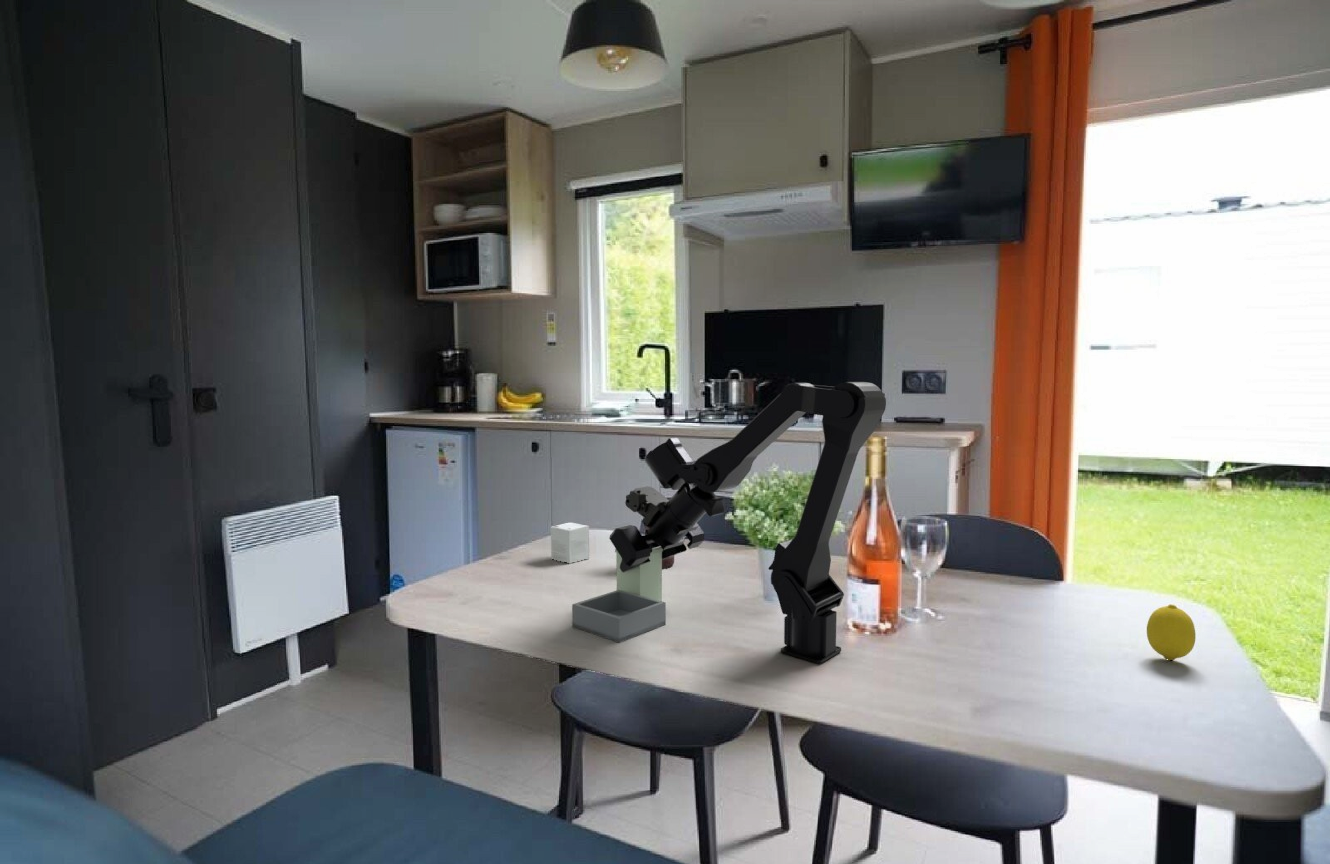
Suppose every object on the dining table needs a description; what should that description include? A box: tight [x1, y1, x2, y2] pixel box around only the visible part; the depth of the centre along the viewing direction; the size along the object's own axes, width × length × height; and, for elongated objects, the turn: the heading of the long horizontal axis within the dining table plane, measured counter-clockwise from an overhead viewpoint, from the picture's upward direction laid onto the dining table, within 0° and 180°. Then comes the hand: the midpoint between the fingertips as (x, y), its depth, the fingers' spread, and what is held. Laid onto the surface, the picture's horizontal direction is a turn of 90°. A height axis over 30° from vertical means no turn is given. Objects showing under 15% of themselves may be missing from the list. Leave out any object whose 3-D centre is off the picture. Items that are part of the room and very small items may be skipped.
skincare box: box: [550, 522, 591, 564], centre depth 156 cm, size 6×6×7 cm
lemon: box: [1146, 603, 1196, 661], centre depth 100 cm, size 6×6×8 cm
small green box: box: [614, 547, 663, 602], centre depth 124 cm, size 6×6×10 cm
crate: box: [571, 589, 667, 644], centre depth 114 cm, size 10×10×4 cm
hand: (633, 566), depth 125 cm, fingers closed on small green box, 5 cm apart
